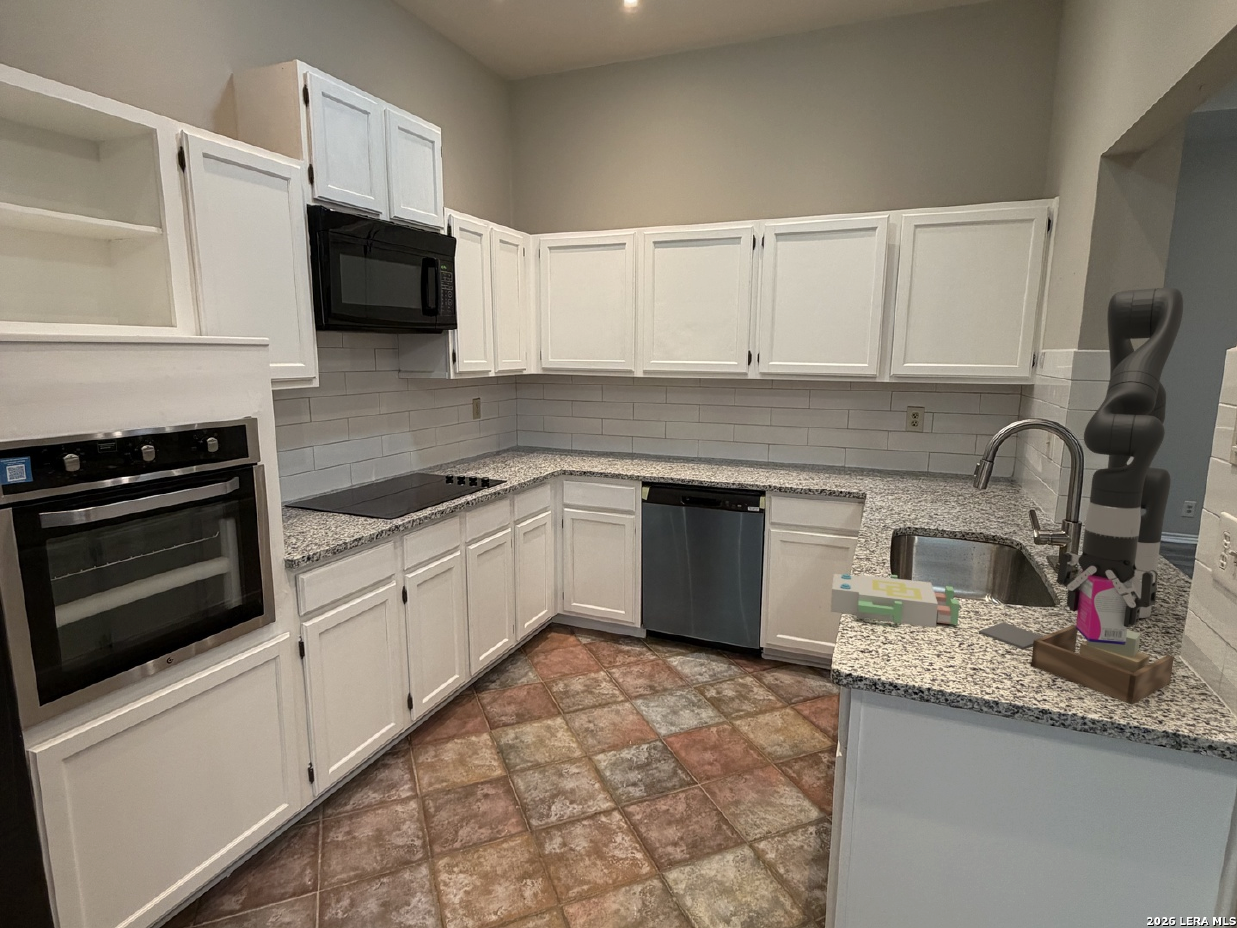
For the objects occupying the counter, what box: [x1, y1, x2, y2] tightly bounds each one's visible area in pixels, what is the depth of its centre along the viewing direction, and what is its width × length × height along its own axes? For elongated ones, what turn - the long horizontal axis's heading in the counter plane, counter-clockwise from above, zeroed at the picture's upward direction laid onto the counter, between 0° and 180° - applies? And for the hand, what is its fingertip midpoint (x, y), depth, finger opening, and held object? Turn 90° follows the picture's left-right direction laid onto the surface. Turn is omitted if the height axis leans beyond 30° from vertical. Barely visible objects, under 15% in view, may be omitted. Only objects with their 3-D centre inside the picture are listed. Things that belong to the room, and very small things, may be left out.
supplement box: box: [1075, 569, 1132, 645], centre depth 115 cm, size 6×6×12 cm
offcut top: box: [1086, 629, 1141, 658], centre depth 120 cm, size 4×7×4 cm, turn 42°
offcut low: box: [1078, 640, 1151, 673], centre depth 120 cm, size 5×9×4 cm, turn 31°
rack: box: [1030, 624, 1175, 705], centre depth 117 cm, size 14×16×5 cm
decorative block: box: [830, 573, 960, 629], centre depth 147 cm, size 26×6×20 cm
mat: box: [978, 621, 1045, 650], centre depth 134 cm, size 9×9×1 cm
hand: (1100, 617), depth 115 cm, fingers closed on supplement box, 8 cm apart
